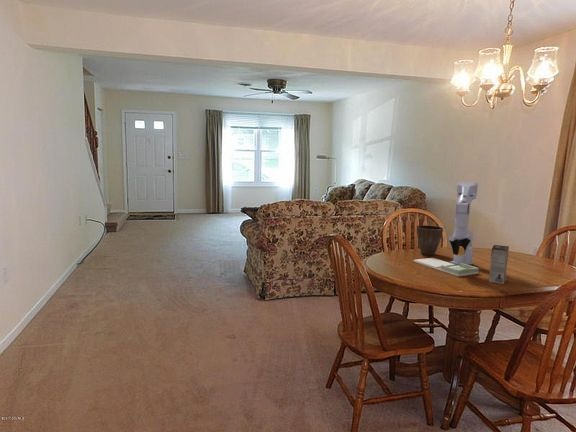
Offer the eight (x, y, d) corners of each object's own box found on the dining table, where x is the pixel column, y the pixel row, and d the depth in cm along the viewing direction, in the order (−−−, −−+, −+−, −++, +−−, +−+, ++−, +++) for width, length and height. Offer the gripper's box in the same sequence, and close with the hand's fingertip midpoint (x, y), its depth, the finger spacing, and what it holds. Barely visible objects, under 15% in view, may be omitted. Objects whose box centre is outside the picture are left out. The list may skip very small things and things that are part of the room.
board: (432, 259, 222) (433, 254, 222) (478, 273, 196) (478, 268, 195) (413, 261, 217) (413, 256, 216) (457, 276, 190) (458, 270, 189)
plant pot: (434, 251, 244) (436, 225, 242) (445, 256, 230) (447, 229, 227) (411, 250, 244) (412, 225, 241) (420, 256, 229) (422, 229, 227)
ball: (457, 254, 201) (458, 244, 200) (466, 256, 196) (467, 246, 196) (451, 255, 198) (451, 245, 197) (460, 257, 194) (460, 247, 193)
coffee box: (490, 277, 189) (493, 244, 187) (505, 279, 186) (509, 246, 184) (488, 282, 182) (491, 247, 180) (504, 284, 178) (507, 249, 176)
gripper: (462, 224, 202) (460, 250, 204) (444, 226, 195) (442, 253, 197) (475, 226, 197) (473, 253, 198) (457, 228, 189) (455, 256, 191)
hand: (458, 253), depth 197 cm, fingers closed on ball, 5 cm apart
